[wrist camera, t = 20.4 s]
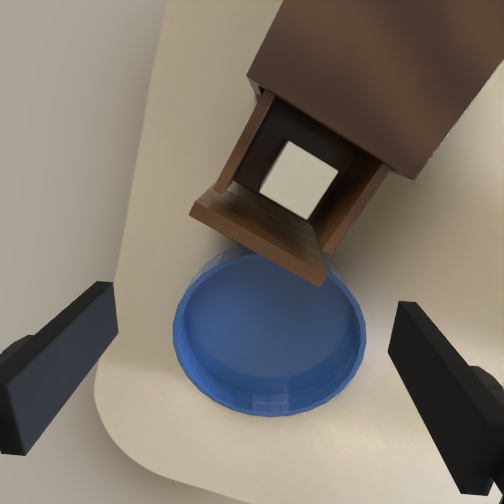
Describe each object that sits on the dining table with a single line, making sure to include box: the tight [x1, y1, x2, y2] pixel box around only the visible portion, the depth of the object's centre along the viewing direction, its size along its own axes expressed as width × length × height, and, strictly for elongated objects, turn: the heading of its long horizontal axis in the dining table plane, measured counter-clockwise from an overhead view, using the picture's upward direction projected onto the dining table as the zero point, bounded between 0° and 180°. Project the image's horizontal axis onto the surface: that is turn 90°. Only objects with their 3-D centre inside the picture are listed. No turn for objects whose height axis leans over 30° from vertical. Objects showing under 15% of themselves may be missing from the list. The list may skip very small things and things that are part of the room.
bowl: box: [173, 245, 366, 417], centre depth 37 cm, size 20×20×4 cm
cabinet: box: [247, 0, 504, 180], centre depth 24 cm, size 14×13×11 cm
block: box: [260, 139, 338, 220], centre depth 27 cm, size 4×4×8 cm
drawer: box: [189, 89, 392, 287], centre depth 27 cm, size 14×11×9 cm
